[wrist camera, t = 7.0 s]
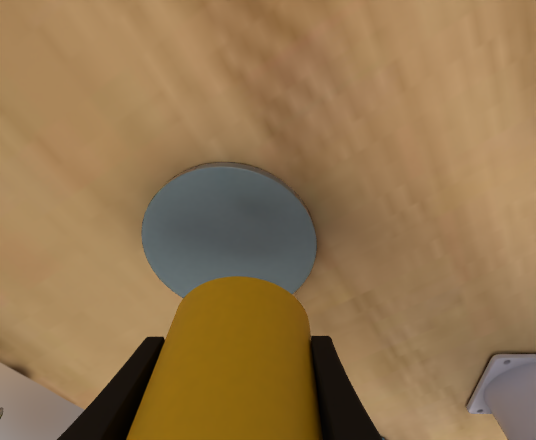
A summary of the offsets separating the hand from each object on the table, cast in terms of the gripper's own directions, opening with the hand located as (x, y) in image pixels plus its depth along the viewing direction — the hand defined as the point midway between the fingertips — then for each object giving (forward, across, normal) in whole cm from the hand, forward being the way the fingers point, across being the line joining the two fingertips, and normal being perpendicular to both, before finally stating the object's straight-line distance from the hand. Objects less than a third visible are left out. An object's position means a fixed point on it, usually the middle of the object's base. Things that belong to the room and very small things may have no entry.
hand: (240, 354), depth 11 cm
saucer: (+9, +2, +1) cm, 9 cm away
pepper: (+1, 0, 0) cm, 1 cm away
